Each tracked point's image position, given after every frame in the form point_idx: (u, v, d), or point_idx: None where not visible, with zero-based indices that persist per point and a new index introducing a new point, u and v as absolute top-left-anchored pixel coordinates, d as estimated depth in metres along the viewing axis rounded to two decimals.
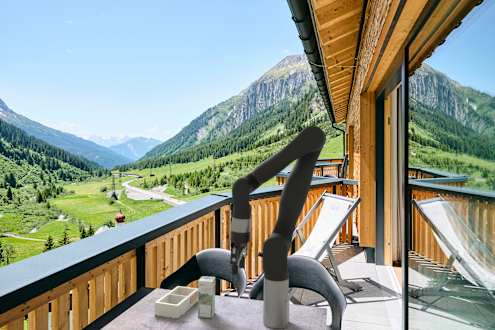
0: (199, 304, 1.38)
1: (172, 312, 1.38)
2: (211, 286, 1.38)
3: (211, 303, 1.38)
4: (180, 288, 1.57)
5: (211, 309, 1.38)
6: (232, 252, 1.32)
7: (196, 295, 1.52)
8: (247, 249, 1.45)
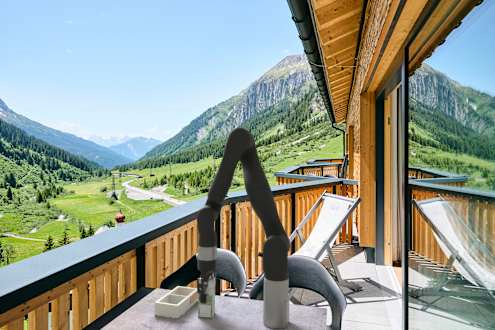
0: (199, 304, 1.38)
1: (172, 312, 1.38)
2: (211, 286, 1.38)
3: (211, 303, 1.38)
4: (180, 288, 1.57)
5: (211, 309, 1.38)
6: (198, 282, 1.34)
7: (196, 295, 1.52)
8: (215, 277, 1.46)
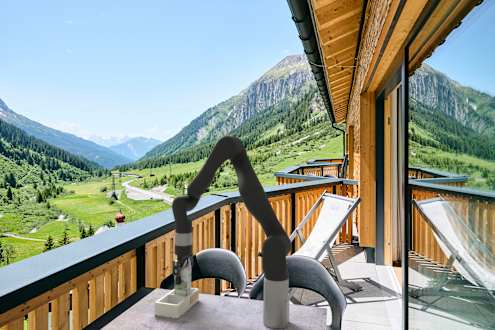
0: (175, 290, 1.49)
1: (172, 312, 1.38)
2: (186, 273, 1.48)
3: (186, 288, 1.49)
4: None
5: (186, 294, 1.49)
6: (174, 264, 1.45)
7: (196, 295, 1.52)
8: (192, 260, 1.58)
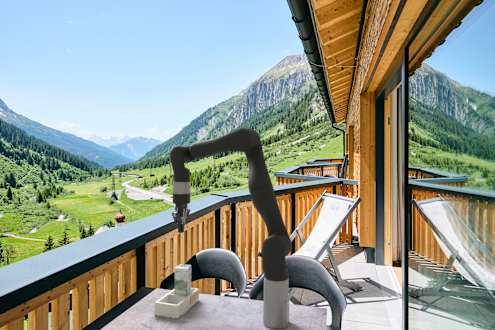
0: (175, 289, 1.49)
1: (172, 312, 1.38)
2: (186, 273, 1.48)
3: (186, 289, 1.49)
4: None
5: (186, 294, 1.49)
6: (174, 216, 1.50)
7: (196, 295, 1.52)
8: None
